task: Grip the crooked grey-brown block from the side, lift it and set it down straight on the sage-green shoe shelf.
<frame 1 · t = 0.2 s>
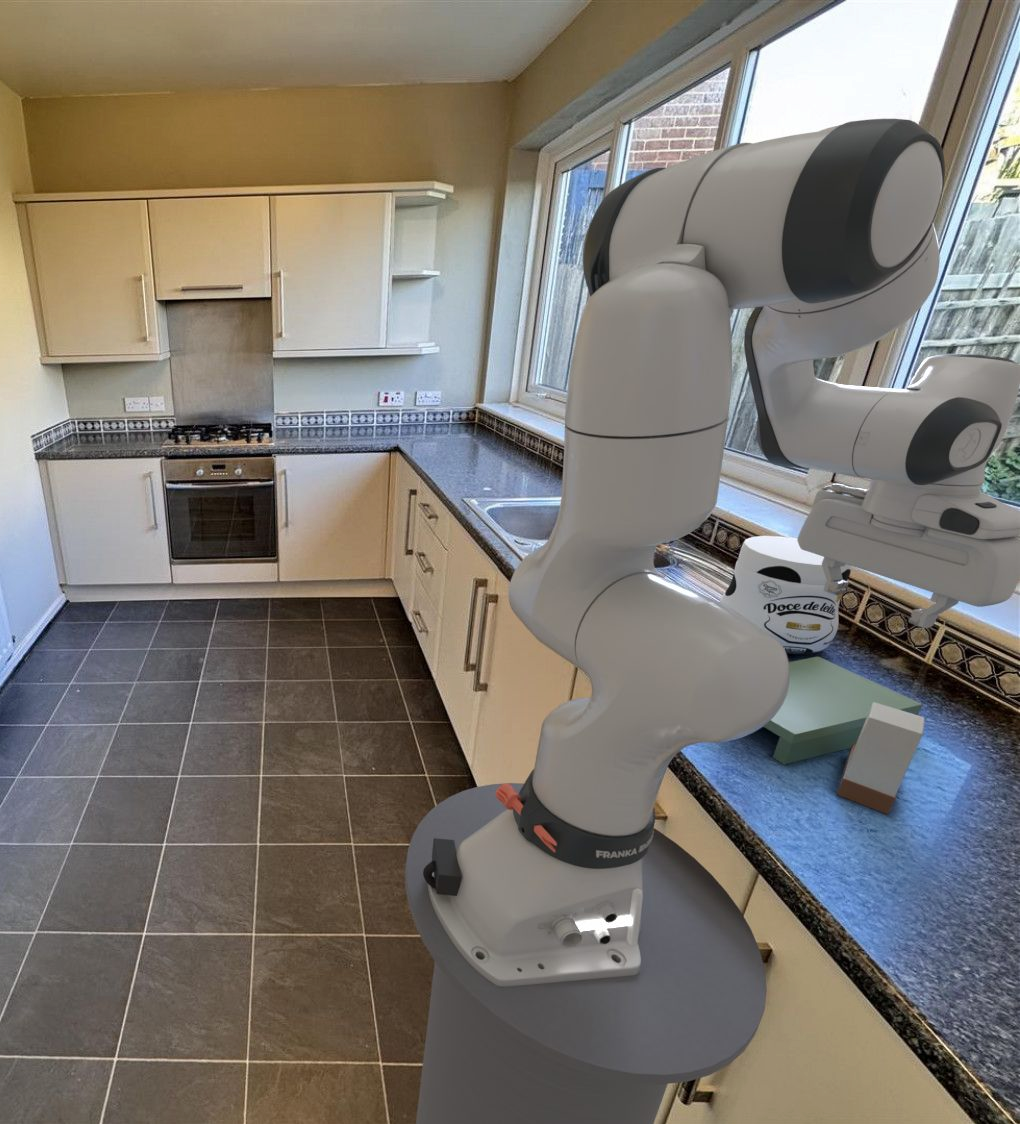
hand: (874, 608, 77), 23 cm above the countertop, tool pointing down, fingers open, 8 cm apart
milk container: (767, 640, 115), on the countertop
grey-brown block: (864, 794, 78), on the countertop
shoe shelf: (797, 719, 93), on the countertop
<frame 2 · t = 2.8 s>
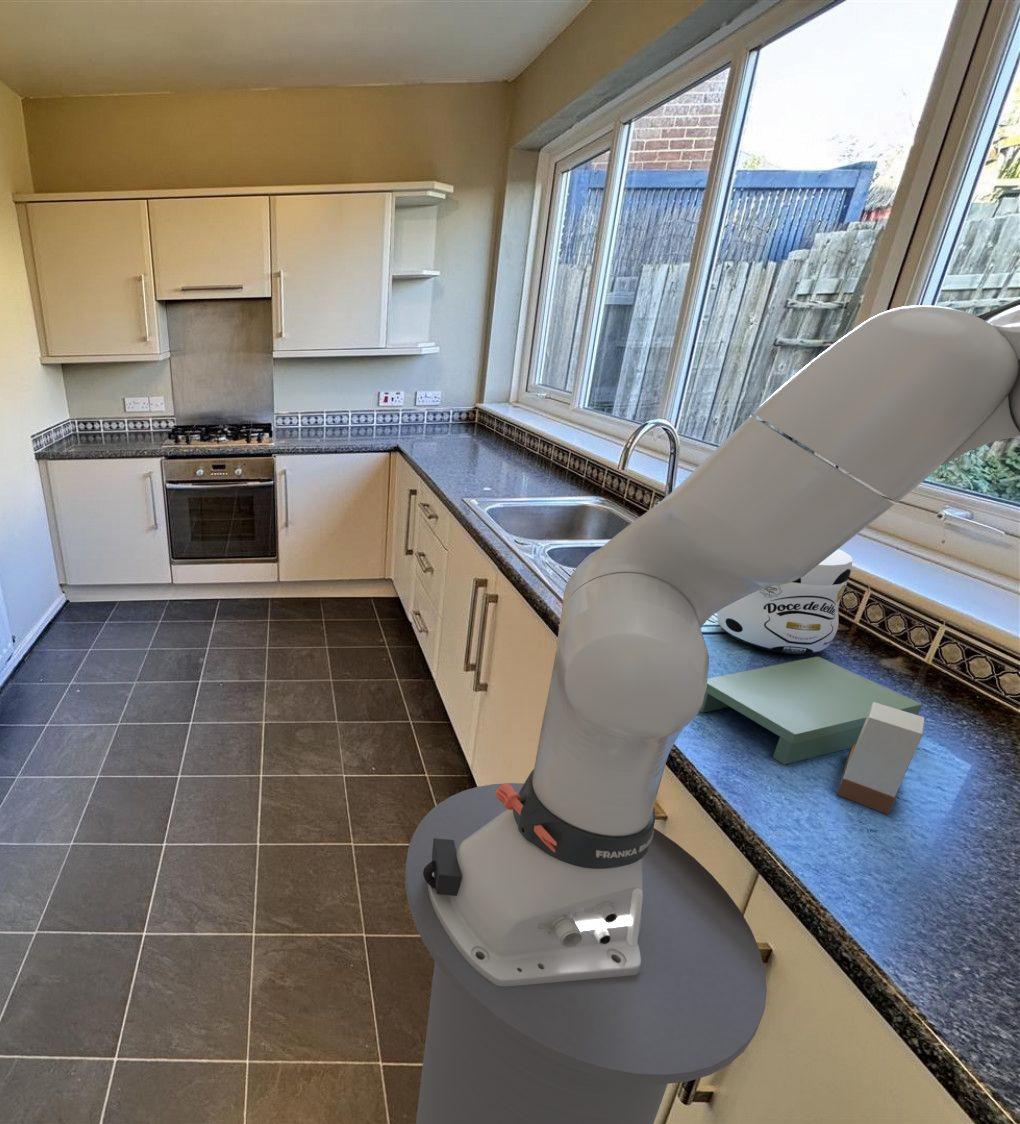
nothing on the countertop moved.
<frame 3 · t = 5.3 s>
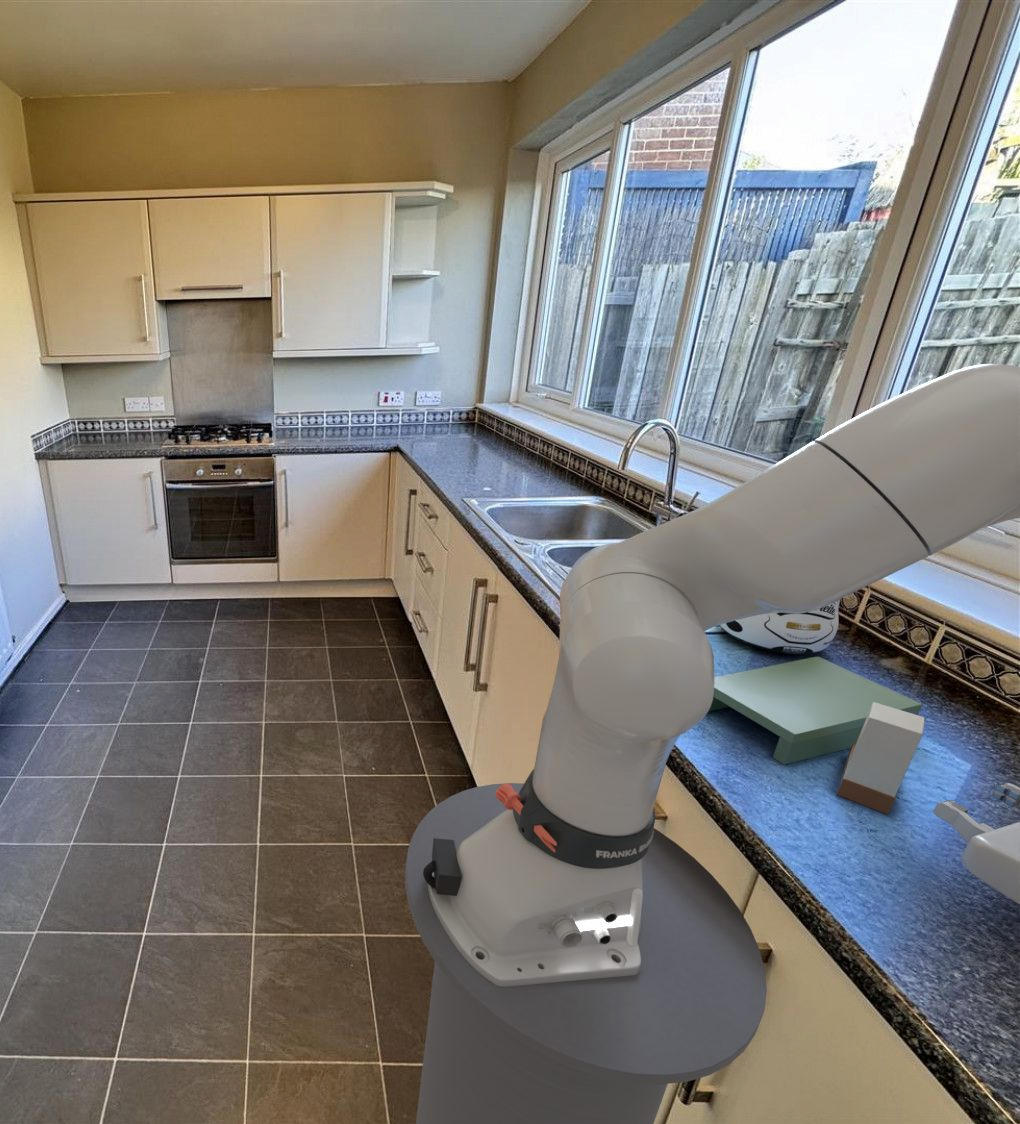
hand: (969, 797, 68), 7 cm above the countertop, tool horizontal, fingers open, 8 cm apart
nothing on the countertop moved.
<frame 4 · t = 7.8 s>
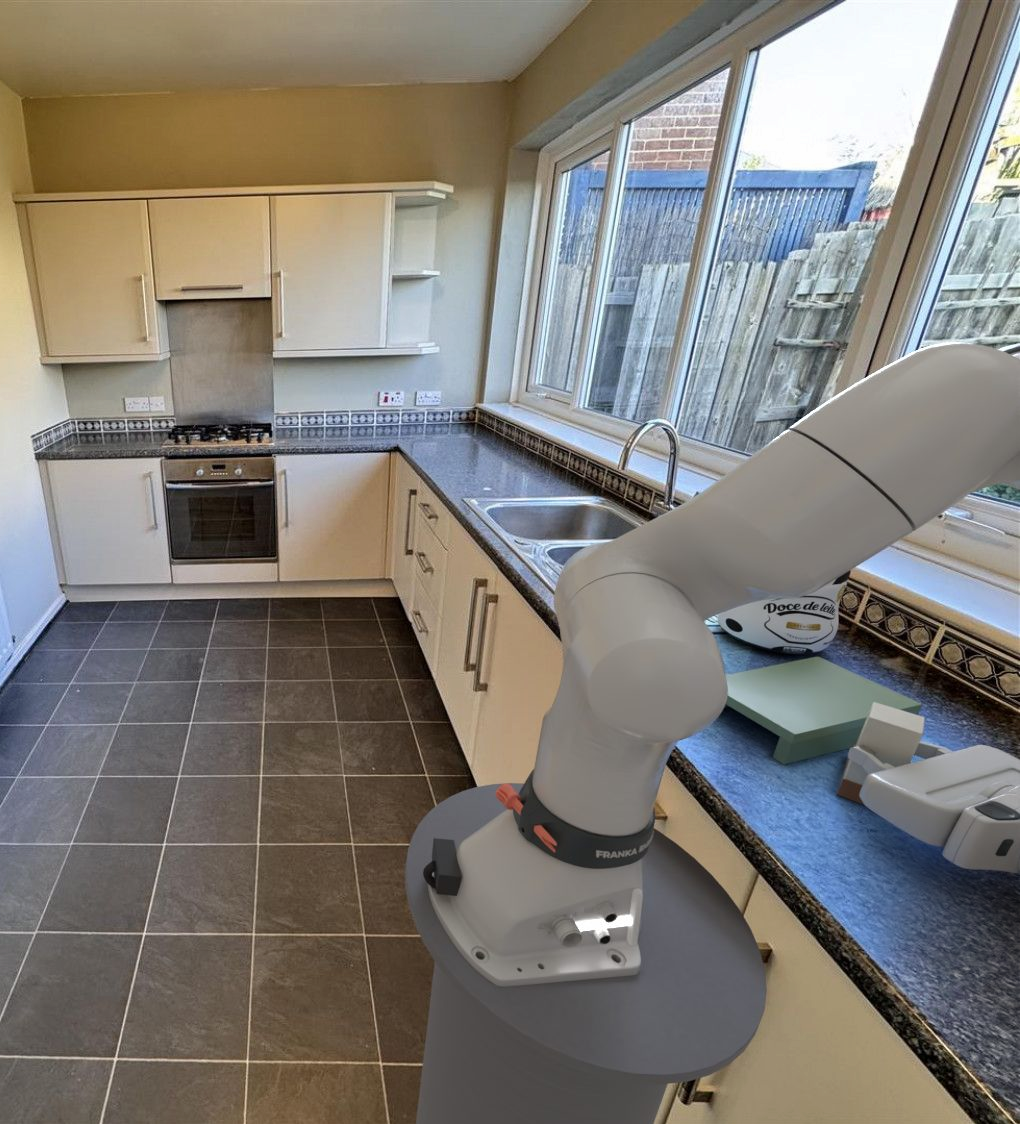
hand: (874, 744, 76), 7 cm above the countertop, tool horizontal, fingers closed on grey-brown block, 6 cm apart
grey-brown block: (864, 794, 78), on the countertop, touching gripper
everything else where it was.
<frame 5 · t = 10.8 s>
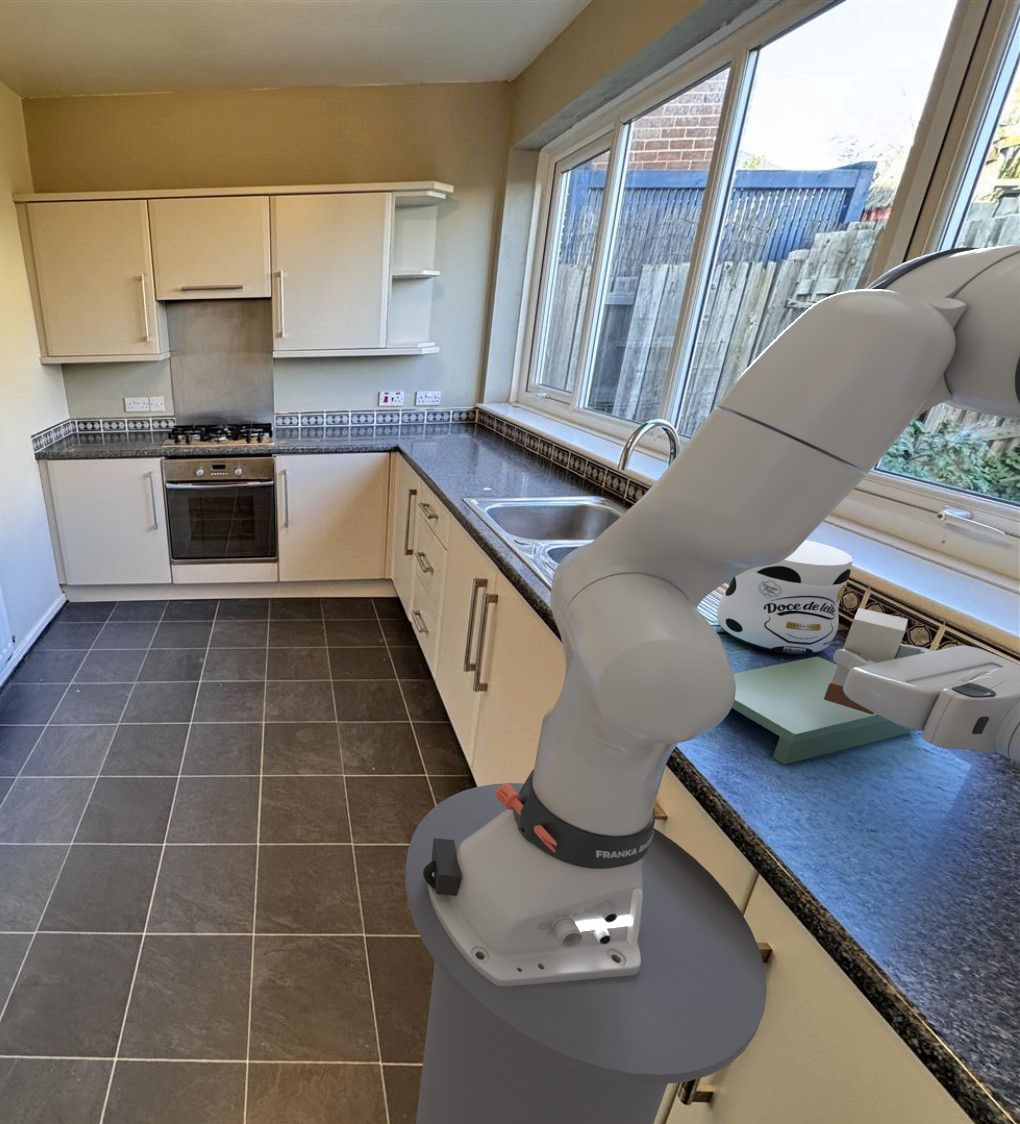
hand: (859, 649, 79), 17 cm above the countertop, tool horizontal, fingers closed on grey-brown block, 6 cm apart
grey-brown block: (850, 699, 80), point 10 cm above the countertop, touching gripper
everything else where it was.
when the fingers open (12 cm above the countertop, at t = 13.9 s): grey-brown block stays where it is, resting on shoe shelf.
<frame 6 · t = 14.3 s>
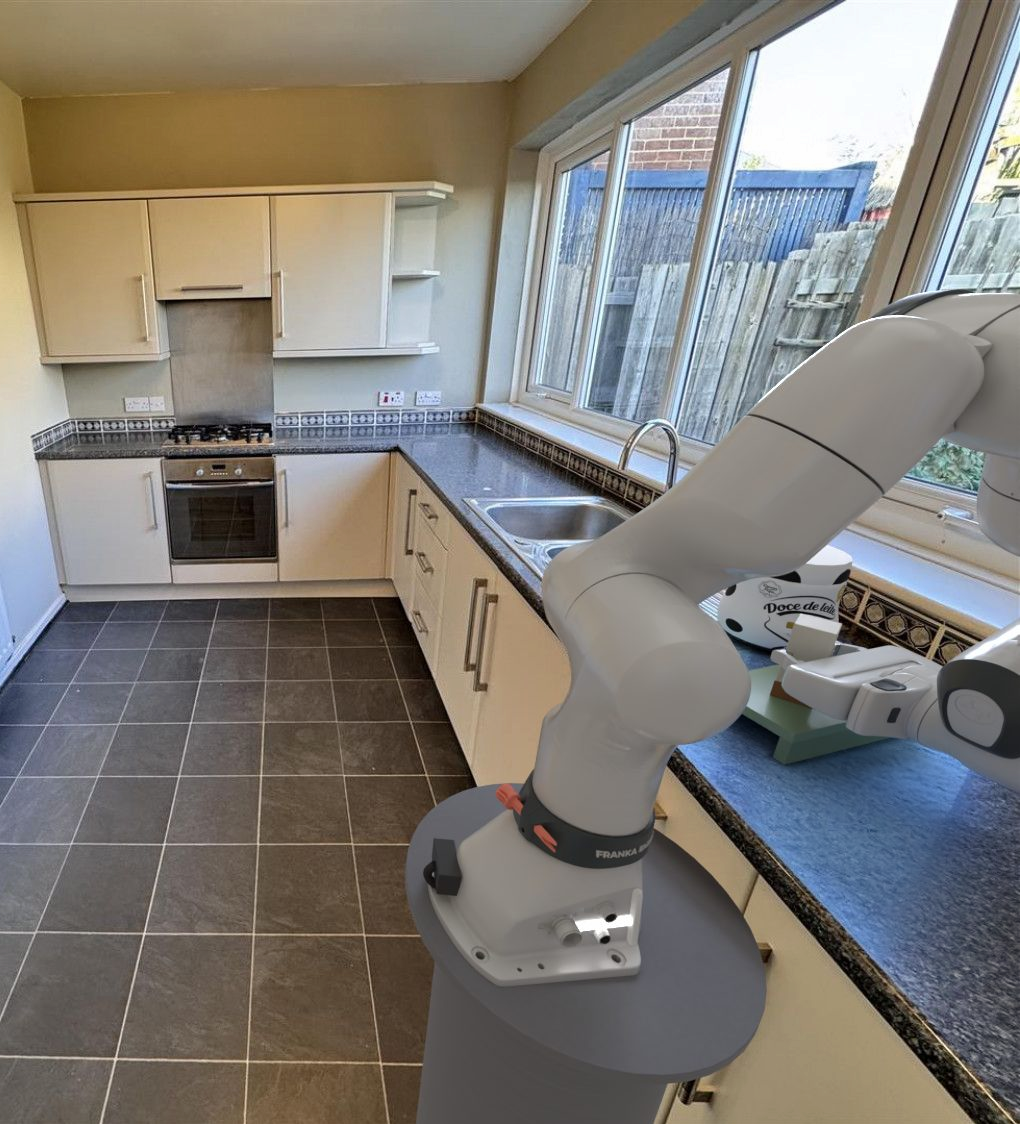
hand: (800, 648, 88), 12 cm above the countertop, tool horizontal, fingers open, 8 cm apart
grey-brown block: (793, 695, 90), point 5 cm above the countertop, touching shoe shelf
everything else where it was.
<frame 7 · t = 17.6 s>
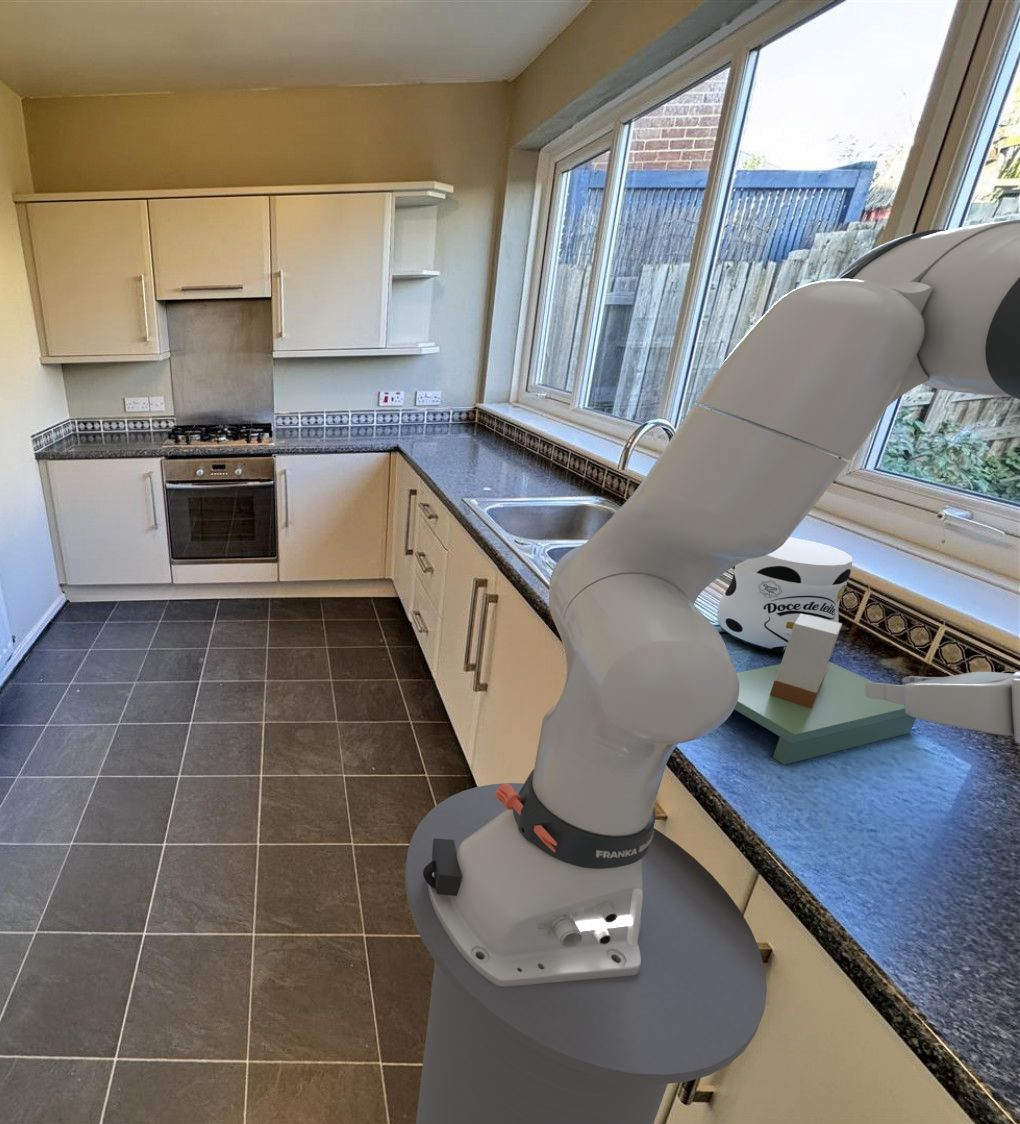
hand: (886, 686, 75), 15 cm above the countertop, tool tilted 70°, fingers open, 8 cm apart
nothing on the countertop moved.
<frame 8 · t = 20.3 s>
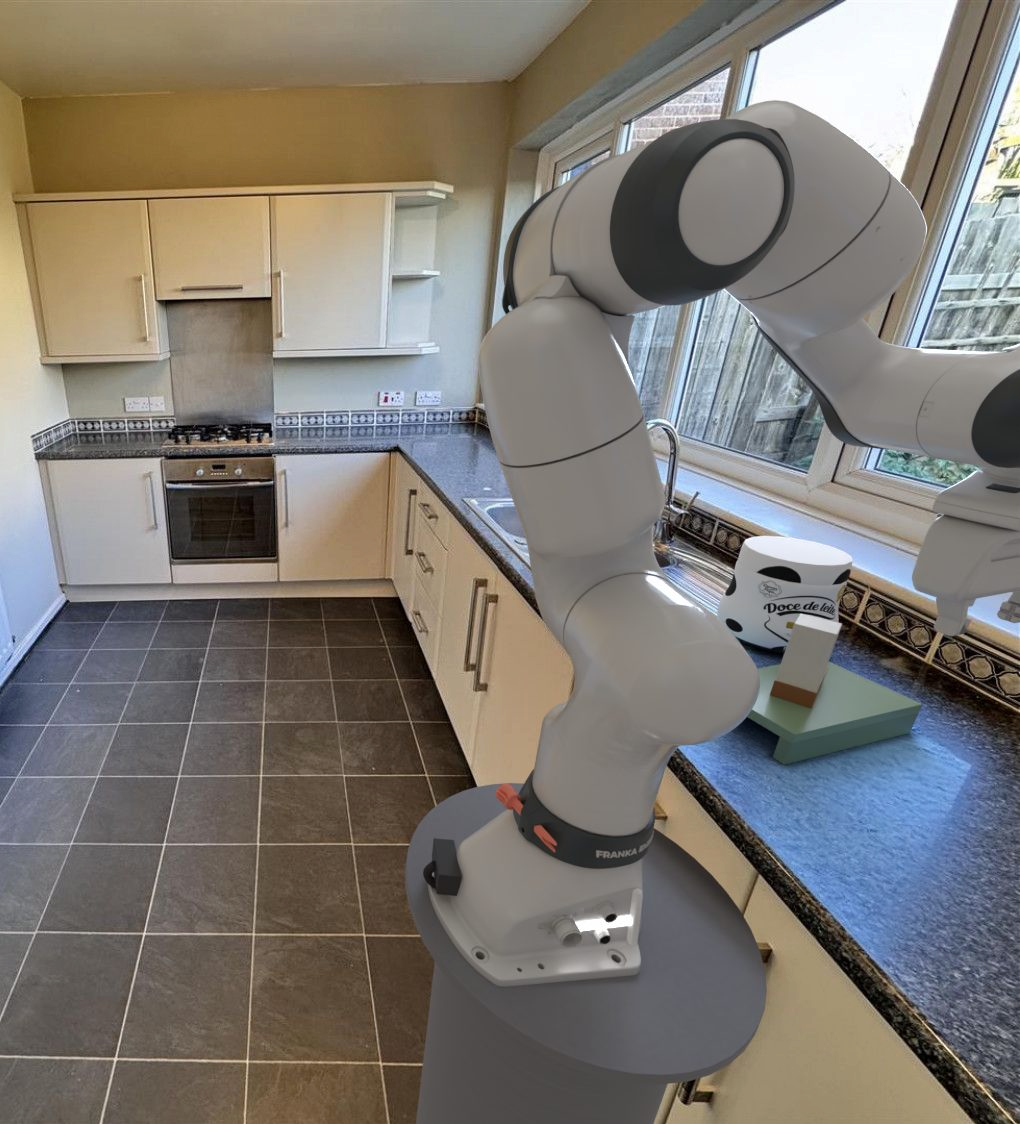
hand: (980, 626, 63), 27 cm above the countertop, tool pointing down, fingers open, 8 cm apart
nothing on the countertop moved.
at the end: grey-brown block inside the target area (0.1 cm from its centre), point 5.0 cm above the countertop; grey-brown block tilted 0°; the gripper is holding nothing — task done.
